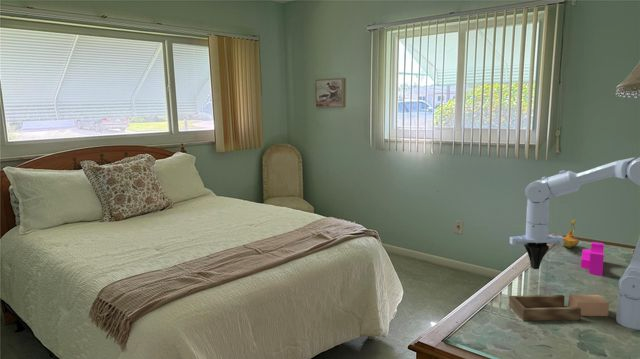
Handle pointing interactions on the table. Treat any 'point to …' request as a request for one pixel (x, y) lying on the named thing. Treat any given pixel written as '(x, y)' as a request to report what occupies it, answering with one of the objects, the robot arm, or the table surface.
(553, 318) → the walnut cubby
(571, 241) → the magic lamp
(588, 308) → the terracotta brick
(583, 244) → the table surface
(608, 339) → the table surface
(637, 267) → the robot arm
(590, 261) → the toy block
